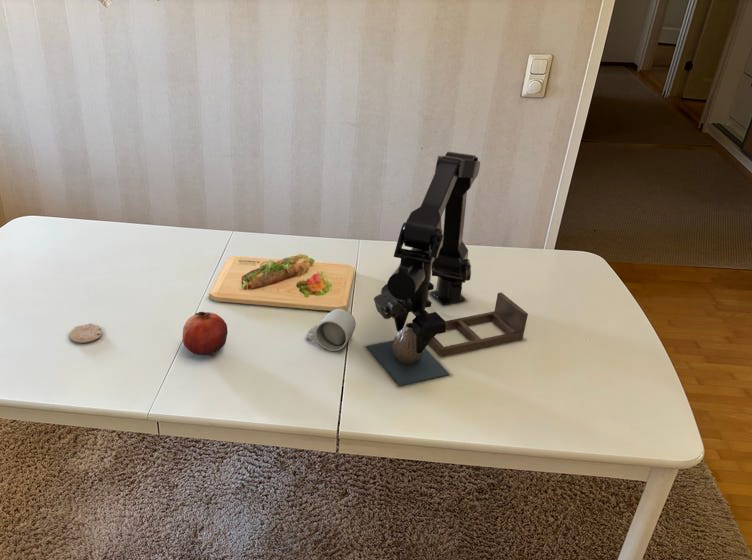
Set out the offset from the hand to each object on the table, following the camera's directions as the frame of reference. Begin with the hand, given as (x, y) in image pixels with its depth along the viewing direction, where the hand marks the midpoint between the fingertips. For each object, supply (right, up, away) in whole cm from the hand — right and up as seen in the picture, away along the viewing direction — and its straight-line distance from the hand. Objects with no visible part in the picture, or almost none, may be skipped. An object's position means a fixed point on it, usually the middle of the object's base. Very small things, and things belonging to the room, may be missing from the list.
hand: (409, 341), depth 158 cm
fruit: (-45, -2, +7) cm, 45 cm away
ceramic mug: (-16, 0, +10) cm, 19 cm away
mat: (0, -4, +3) cm, 5 cm away
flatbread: (-74, +2, +13) cm, 75 cm away
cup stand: (+16, +1, +11) cm, 19 cm away
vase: (0, -4, +3) cm, 5 cm away
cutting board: (-27, +15, +32) cm, 45 cm away
